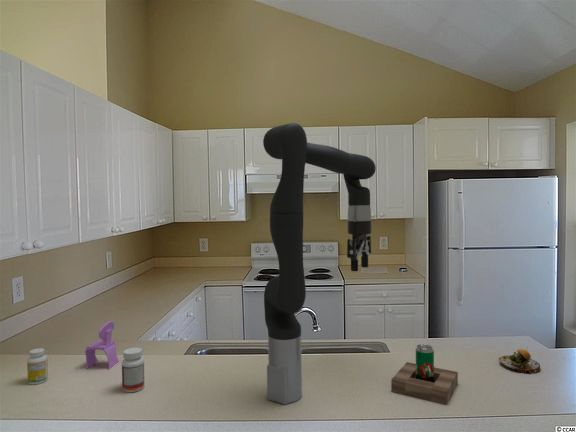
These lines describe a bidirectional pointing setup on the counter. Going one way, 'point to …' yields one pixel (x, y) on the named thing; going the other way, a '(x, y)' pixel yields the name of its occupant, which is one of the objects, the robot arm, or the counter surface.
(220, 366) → the counter surface
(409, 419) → the counter surface
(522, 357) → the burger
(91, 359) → the toy chair
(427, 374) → the soda can
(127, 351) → the pill bottle
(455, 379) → the socket block
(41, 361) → the supplement bottle
